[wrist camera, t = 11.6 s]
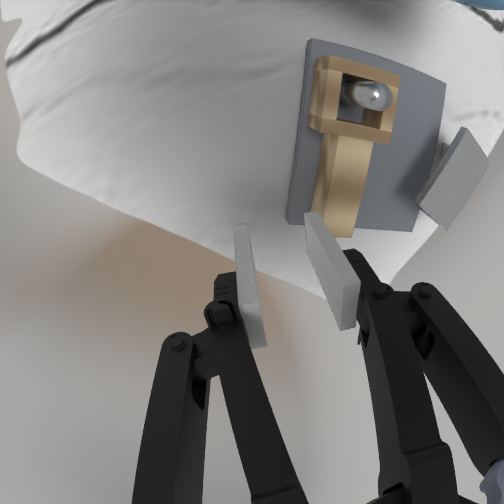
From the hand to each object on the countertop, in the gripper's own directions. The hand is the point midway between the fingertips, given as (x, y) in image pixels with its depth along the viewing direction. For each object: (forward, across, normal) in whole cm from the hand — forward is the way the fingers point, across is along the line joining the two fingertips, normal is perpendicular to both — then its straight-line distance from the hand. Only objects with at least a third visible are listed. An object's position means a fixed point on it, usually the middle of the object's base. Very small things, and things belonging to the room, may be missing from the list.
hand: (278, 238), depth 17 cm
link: (+13, +9, +2) cm, 16 cm away
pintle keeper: (+15, +17, 0) cm, 22 cm away
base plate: (+15, +13, +1) cm, 20 cm away
